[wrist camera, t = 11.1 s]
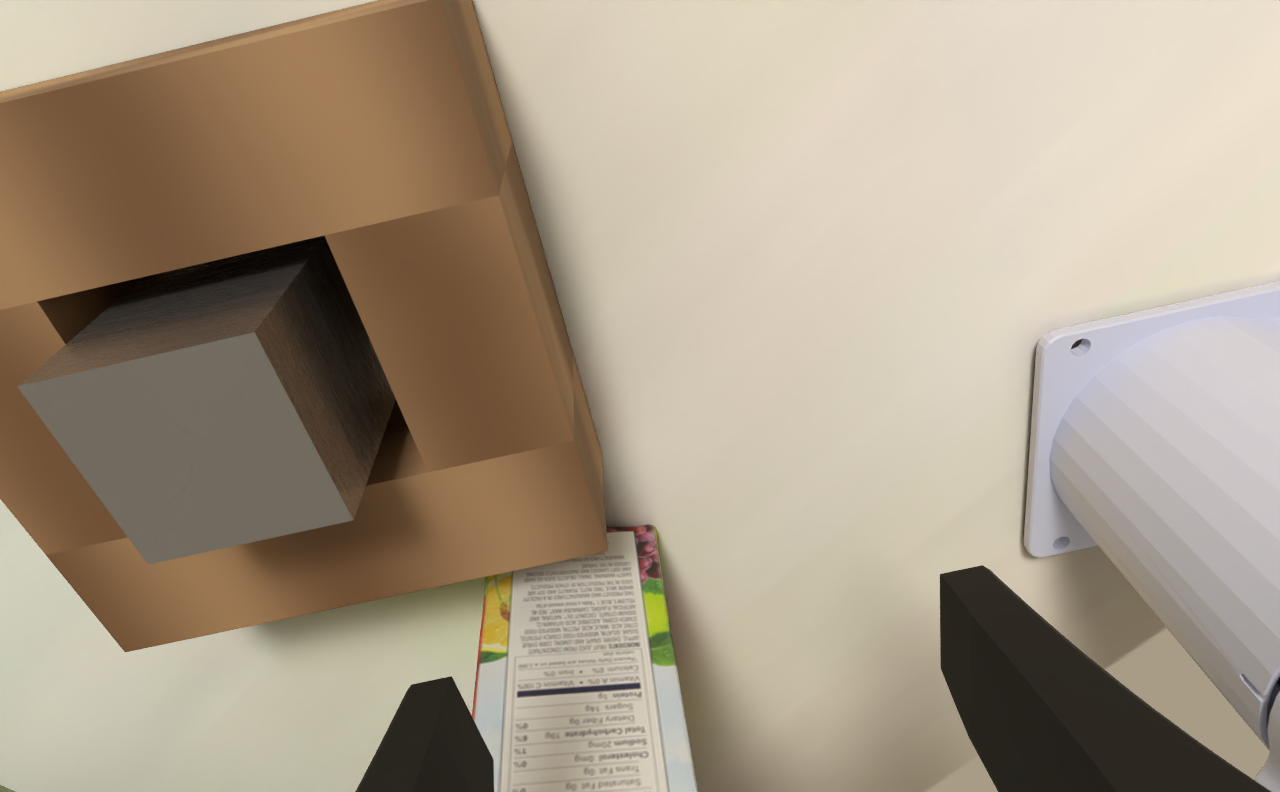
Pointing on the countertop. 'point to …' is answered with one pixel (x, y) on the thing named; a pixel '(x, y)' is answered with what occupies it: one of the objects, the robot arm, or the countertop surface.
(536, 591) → the snack box
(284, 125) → the socket block
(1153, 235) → the countertop surface
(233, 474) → the square bit
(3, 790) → the grocery bag
